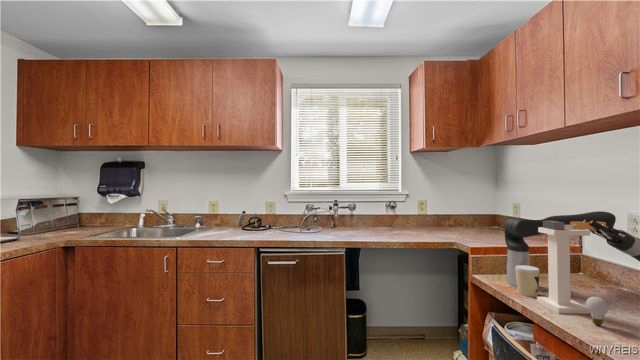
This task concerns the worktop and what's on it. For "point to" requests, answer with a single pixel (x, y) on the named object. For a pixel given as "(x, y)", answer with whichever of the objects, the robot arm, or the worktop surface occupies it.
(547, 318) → the worktop surface
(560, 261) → the white pedestal stand
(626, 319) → the worktop surface
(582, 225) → the putter
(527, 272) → the coffee cup
